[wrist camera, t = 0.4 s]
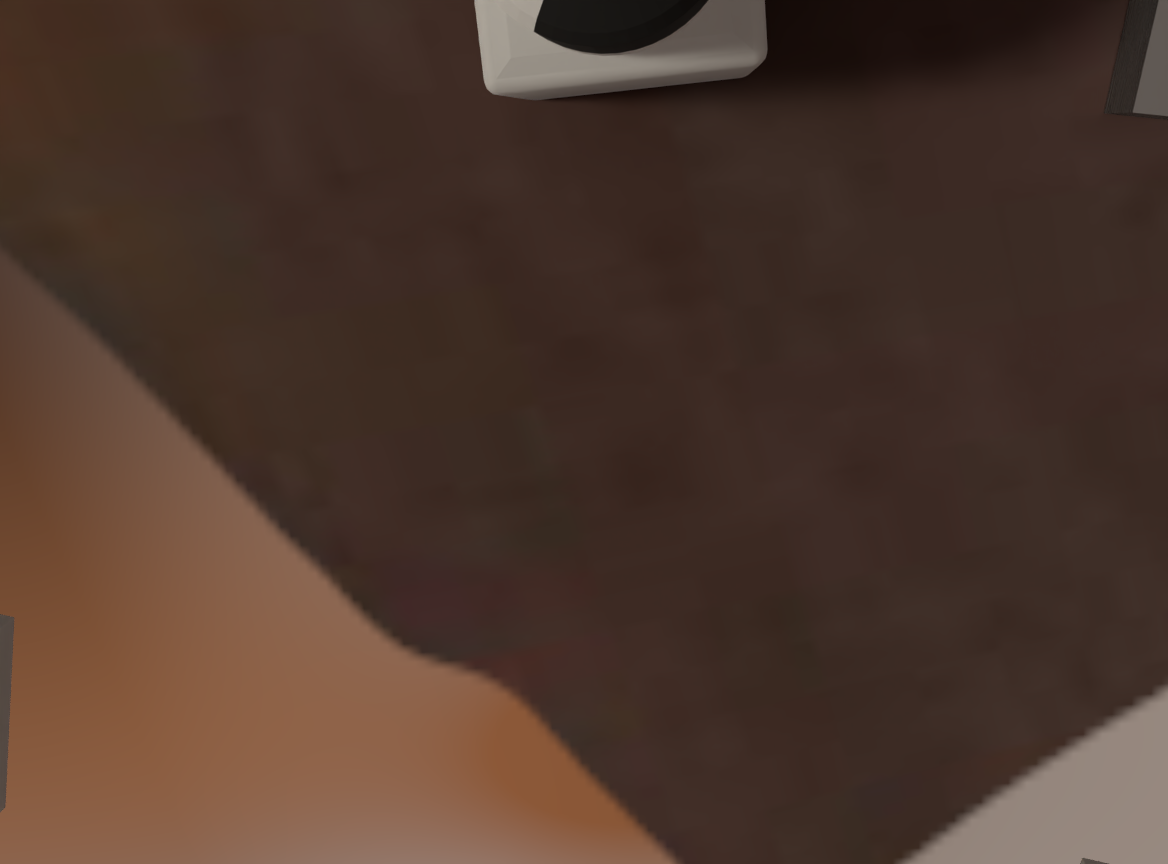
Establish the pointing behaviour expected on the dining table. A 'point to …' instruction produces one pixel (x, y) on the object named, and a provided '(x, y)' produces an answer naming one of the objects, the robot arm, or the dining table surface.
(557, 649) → the dining table surface
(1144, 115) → the flange
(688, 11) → the container
